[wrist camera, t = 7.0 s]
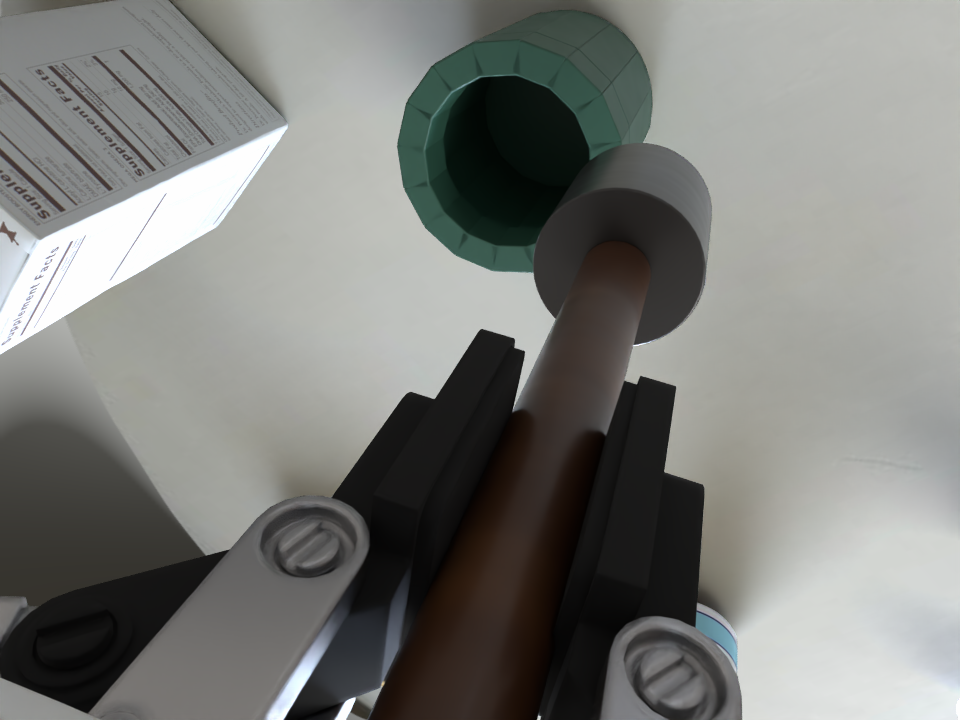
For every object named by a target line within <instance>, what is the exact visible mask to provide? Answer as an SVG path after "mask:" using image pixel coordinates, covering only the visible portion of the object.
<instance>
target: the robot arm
mask: <svg viewBox="0 0 960 720" xmlns="http://www.w3.org/2000/svg"><path fill="white" fill-rule="evenodd" d="M514 345H515V339H514V338H511V337H507V336H504V335H501V334H497V333H494V332H490V331H487V330H484V329H480V331H479V332H478V333H477V335H476V336H475V338H474V340H473V341H472V343H471V344H470V346H469V347H468V349H467V350H466V352H465V353H464V355H463V357H462V358H461V360H460V361H459V363H458V364H457V366H456V367H455V369H454V370H453V372H452V374H451V375H450V377H449V378H448V380H447V381H446V383H445V384H444V386H443V387H442V389H441V391H440V392H439V394H438V395H437V397H436V398H435V399H432V398H429V397H425V396H422V395H419V394H416V393H413V392H409V393H407V394H406V395H405V396H404V397H403V398H402V400H401V401H400V403H399V404H398V405H397V407H396V408H395V410H394V411H393V412H392V414H391V415H390V416H389V418H388V419H387V421H386V422H385V423H384V425H383V426H382V428H381V429H380V430H379V432H378V433H377V435H376V436H375V437H374V439H373V440H372V442H371V443H370V444H369V446H368V447H367V449H366V450H365V451H364V453H363V454H362V456H361V457H360V458H359V460H358V461H357V463H356V464H355V465H354V467H353V468H352V470H351V471H350V472H349V474H348V475H347V477H346V478H345V479H344V481H343V482H342V483H341V485H340V486H339V488H338V489H337V490H336V492H335V493H334V495H333V496H332V497H331V498H329V497H325V496H300V497H296V498H291V499H286V500H284V501H282V502H280V503H278V504H276V505H274V506H272V507H270V508H269V509H267V510H266V511H265V512H264V513H263V514H262V515H260V516H259V517H258V518H257V519H256V520H255V521H254V522H253V524H252V525H251V526H250V527H249V528H248V529H247V531H246V532H245V533H244V534H243V535H242V536H241V537H240V539H239V540H238V541H237V542H236V543H235V544H234V546H233V547H232V548H231V549H230V550H226V551H222V552H218V553H215V554H211V555H207V556H203V557H200V558H196V559H192V560H188V561H184V562H180V563H177V564H173V565H169V566H165V567H161V568H157V569H154V570H150V571H146V572H143V573H138V574H135V575H131V576H127V577H123V578H119V579H116V580H112V581H108V582H104V583H100V584H96V585H93V586H89V587H85V588H81V589H77V590H74V591H71V592H68V593H66V594H63V595H61V596H58V597H55V598H52V599H50V600H49V601H47V602H46V603H44V604H42V605H41V606H28V604H27V601H26V598H25V597H10V596H0V720H346V719H347V717H348V715H349V713H350V711H351V709H352V706H353V703H354V700H355V698H356V697H357V696H360V695H362V694H365V693H368V692H370V691H373V690H376V689H378V688H380V687H381V685H382V682H383V681H384V682H385V681H386V679H387V677H388V675H389V672H390V670H391V668H392V666H393V664H394V662H395V660H396V658H397V655H398V653H399V651H400V649H401V647H402V645H403V643H404V641H405V638H406V636H407V634H408V632H409V630H410V628H411V626H412V624H413V621H414V619H415V617H416V615H417V613H418V611H419V609H420V607H421V604H422V602H423V600H424V598H425V596H426V595H427V592H428V590H429V588H430V586H431V584H432V582H433V580H434V578H435V575H436V573H437V571H438V569H439V567H440V565H441V563H442V561H443V558H444V556H445V554H446V552H447V550H448V548H449V546H450V544H451V541H452V539H453V537H454V535H455V533H456V531H457V529H458V527H459V524H460V522H461V520H462V518H463V516H464V514H465V512H466V510H467V507H468V505H469V503H470V501H471V499H472V497H473V495H474V493H475V490H476V488H477V486H478V484H479V482H480V480H481V478H482V476H483V473H484V471H485V469H486V467H487V465H488V463H489V461H490V459H491V456H492V454H493V452H494V450H495V448H496V446H497V444H498V442H499V439H500V437H501V435H502V433H503V431H504V429H505V427H506V425H507V422H508V420H509V418H510V416H511V414H512V411H513V406H514V402H515V397H516V393H517V388H518V384H519V379H520V375H521V370H522V366H523V361H524V356H525V351H522V350H519V349H516V348H514ZM675 393H676V386H673V385H670V384H666V383H663V382H660V381H656V380H653V379H649V378H646V377H643V376H640V378H639V381H638V384H633V383H630V382H627V381H624V383H623V385H622V388H621V392H620V395H619V398H618V401H617V404H616V407H615V410H614V413H613V416H612V419H611V422H610V425H609V429H608V432H607V435H606V438H605V442H604V446H603V449H602V453H601V457H600V461H599V464H598V468H597V472H596V476H595V479H594V483H593V487H592V491H591V494H590V498H589V502H588V505H587V509H586V513H585V517H584V520H583V524H582V528H581V532H580V535H579V539H578V543H577V547H576V550H575V554H574V558H573V562H572V565H571V569H570V573H569V577H568V580H567V584H566V588H565V592H564V595H563V599H562V603H561V606H560V610H559V614H558V618H557V621H556V625H555V629H554V633H553V637H554V642H555V651H554V655H553V659H552V663H551V667H550V671H549V675H548V679H547V683H546V686H545V690H544V694H543V698H542V702H541V706H540V710H539V714H538V715H539V716H541V720H742V698H741V691H740V686H739V681H738V676H737V674H736V672H735V670H734V669H733V667H732V665H731V663H730V661H729V659H728V657H727V656H726V655H725V654H724V653H723V651H722V650H721V649H720V648H719V647H718V646H717V644H716V643H715V642H714V641H713V640H711V639H710V638H709V637H707V636H706V635H705V634H703V633H702V632H701V631H699V630H698V629H697V628H696V613H697V598H698V583H699V568H700V554H701V539H702V524H703V509H704V486H703V485H702V484H699V483H696V482H693V481H690V480H687V479H683V478H680V477H677V476H674V475H671V474H668V473H665V472H664V469H665V462H666V455H667V448H668V441H669V434H670V427H671V420H672V413H673V406H674V400H675Z"/></svg>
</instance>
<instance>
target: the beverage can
mask: <svg viewBox="0 0 960 720" xmlns="http://www.w3.org/2000/svg"><path fill="white" fill-rule="evenodd" d="M696 628H697V629H698V630H699V631H701V632H702V633H703V634H705V635H706V636H707V637H709V638H710V639H711V640H713V641H714V642H715V643H716V644H717V646H718V647H719V648H720V649H721V650H722V651H723V653H724V654H725V655H726V656H727V657H728V659H729V661H730V663H731V665H732V667H733V669H734V670H735V672H736V674H737V637H736V634H735V632H734V630H733V628H732V626H731V625H730V624H729V623H728V621H727V620H726V619H725V618H724V617H722V616H721V615H720V614H719V613H717V612H716V611H714V610H712V609H711V608H709V607H707V606H704V605H702V604H700V603H697V613H696Z"/></svg>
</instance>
